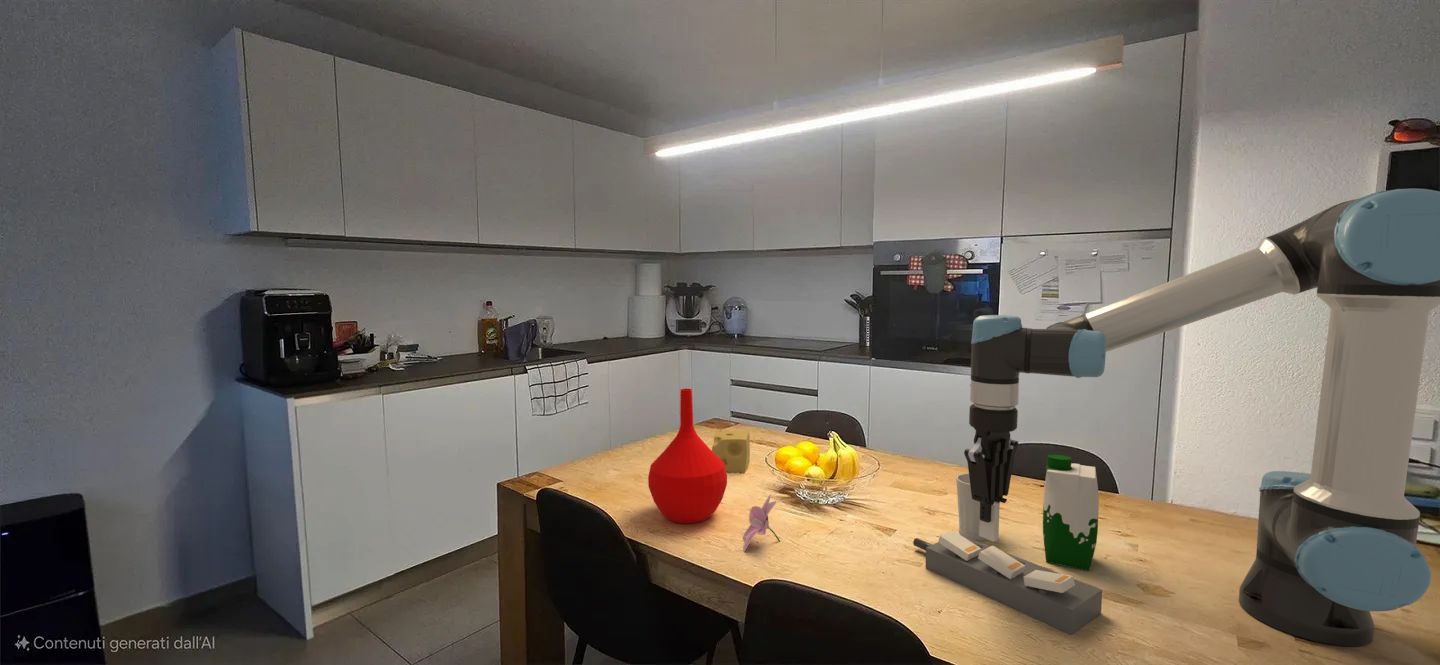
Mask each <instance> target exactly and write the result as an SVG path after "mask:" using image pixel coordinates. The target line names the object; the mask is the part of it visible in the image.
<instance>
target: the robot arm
mask: <svg viewBox="0 0 1440 665" xmlns="http://www.w3.org/2000/svg"><path fill="white" fill-rule="evenodd" d="M1313 289H1316V297H1318V299H1319V300H1321V301H1322V302H1324V304H1326V305H1327V306H1328V307H1329V309H1330V312H1329V321H1328V329H1327V338H1326V345H1325V353H1324V364H1323V371H1322V379H1321V385H1320V386H1321V387H1320V396H1319V403H1318V412H1317V419H1316V420H1317V422H1316V429H1315V436H1314V445H1313V453H1312V459H1311V460H1312V461H1311V462H1312V463H1311V469H1310V473H1307V472H1296V471H1285V470H1284V471H1283V470H1282V471H1281V470H1276V471H1274V470H1273V471H1268V472H1266V473H1264V474H1263V475H1262V478H1261V484H1260V487H1259V488H1258V491H1259V505H1258V506H1259V507H1258V508H1259V509H1258V518H1257V519H1258V523H1257V538H1256V554H1255V555H1256V556H1255V560H1254V561H1253V563H1252V565H1251V567H1250V568H1249V570H1248V572H1247V574H1246V576H1245V578H1244V579H1243V581H1242V582H1241V584H1240V586H1239V592H1238V604H1239V605H1240V606H1241V608H1242V609H1243V610H1244V611H1245V612H1247V614H1249V615H1250V616H1252V617H1253V618H1255V619H1257V620H1258V621H1260V622H1262V623H1264V624H1266V625H1267V626H1270V627H1272V628H1274V629H1277V630H1279V631H1282V632H1285V633H1287V634H1290V635H1292V636H1296V637H1300V638H1302V639H1305V640H1310V641H1314V642H1318V643H1322V644H1327V645H1328V644H1329V645H1334V646H1341V647H1342V646H1343V647H1359V646H1365V645H1369V644H1371V641H1373V640H1374V632H1375V631H1374V630H1375V624H1374V620H1373V617H1372V614H1371V612H1389V611H1395V610H1398V609H1400V608H1403V607H1406V606H1410V605H1413V604H1414V603H1416V602H1417V601H1418V600H1420V599H1421V598H1422V597H1423V596H1424V595H1426V593H1427V592H1428V590H1429V587H1430V586H1431V581H1432V572H1431V571H1432V570H1431V568H1430V565H1429V563H1428V561H1427V558H1426V557H1425V555H1424V553H1423V552H1422V550H1420V549H1419V548H1418V547H1417V540H1418V539H1417V538H1418V532H1419V524H1420V523H1419V522H1420V516H1421V511H1420V510H1419V509H1418V508H1416V506H1414V504H1412V503H1411V502H1410V501H1409V500H1408V499H1406V496H1405V490H1406V484H1407V475H1408V468H1409V462H1410V461H1409V460H1410V452H1411V446H1412V439H1413V434H1414V433H1413V431H1414V426H1415V425H1414V424H1415V417H1416V412H1417V411H1416V410H1417V402H1418V395H1419V389H1420V388H1419V387H1420V381H1421V375H1422V367H1423V366H1422V365H1423V360H1424V352H1425V347H1426V346H1425V345H1426V338H1427V331H1428V325H1429V324H1428V322H1429V315H1430V313H1431V312H1432V311H1433V310H1434V309H1436V308H1438V307H1440V191H1438V190H1433V189H1428V188H1396V189H1390V190H1380V191H1376V192H1373V193H1370V194H1368V195H1365V196H1363V197H1359V198H1355V199H1351V200H1346V201H1343V202H1340V203H1338V204H1337V203H1336V204H1335V205H1333V206H1330V207H1327V209H1324V210H1322V211H1320V212H1318V213H1316V214H1314V215H1312V216H1311V217H1309V218H1307V219H1305V220H1303V221H1301V222H1300V221H1299V223H1297V224H1294V225H1292V226H1290V227H1288V228H1286V229H1283V230H1282V231H1279V232H1276V233H1274V234H1272V235H1269V236H1266V237H1264V238H1262V239H1260V241H1259V243H1258V245H1257V247H1255V248H1253V249H1251V250H1248V251H1245V252H1244V253H1240V254H1238V255H1235V256H1232V257H1230V258H1227V259H1224V260H1222V261H1219V262H1217V263H1214V264H1211V265H1209V266H1206V267H1204V268H1201V269H1199V270H1196V271H1193V272H1191V273H1188V274H1184V275H1183V276H1180V277H1178V278H1174V279H1172V280H1170V281H1167V282H1165V283H1162V284H1159V285H1156V286H1154V287H1151V288H1149V289H1146V290H1144V291H1141V292H1138V293H1136V294H1133V295H1130V296H1127V297H1125V298H1122V299H1120V300H1117V301H1116V302H1115V301H1114V302H1112V303H1109V304H1107V305H1105V306H1104V305H1103V306H1102V307H1099V308H1096V309H1093V310H1091V311H1088V312H1086V313H1084V314H1082V315H1078V316H1075V317H1072V318H1071V319H1068V320H1064V321H1059V322H1056V323H1053V324H1050V325H1049V326H1047V327H1046V328H1032V327H1031V328H1029V327H1023V324H1022V319H1021V317H1019V316H1016V315H1004V314H1003V315H1002V314H1001V315H1000V314H987V315H985V314H984V315H979V316H978V317H975V319H974V320H973V323H972V334H971V342H970V345H971V348H970V351H971V352H970V353H971V354H970V384H969V387H970V392H969V393H970V398H969V401H970V402H971V405H970V406H969V416H968V417H969V418H968V420H969V421H968V424H969V425H970V426H971V427H972V428H973V429H974V431H975V434H974V438H973V446H972V448H970V449H969V448H965V450H964V454H963V455H964V457H965V459H966V461H967V469H968V470H967V471H968V473H969V478H970V487H971V495H972V499H973V500H976V501H979V502H980V526H979V536H980V537H983V538H986V539H988V540H987V541H991V542H996V541H998V540H999V536H1000V534H999V533H1000V511H1001V510H1000V506H1001V503H1003V504H1006V503H1007V499H1008V498H1004V496H1005V497H1007V496H1008V495H1009V492H1010V486H1011V485H1010V484H1011V479H1012V472H1013V466H1014V462H1015V461H1014V460H1015V455H1016V452H1017V449H1018V447H1019V441H1018V440H1015V439H1012V438H1011V432H1014V431H1016V430H1017V428H1018V414H1019V410H1018V409H1017V407H1016V406H1018V405H1019V393H1020V392H1019V390H1020V388H1019V384H1020V383H1019V382H1020V373H1021V374H1022V373H1023V374H1036V375H1049V376H1061V377H1075V378H1076V379H1080V378H1099V377H1101V376H1102V375H1104V372H1105V368H1106V354H1107V352H1110V351H1114V350H1115V349H1119V348H1122V347H1124V346H1128V345H1131V344H1133V343H1136V342H1139V341H1143V340H1145V339H1149V338H1152V337H1154V336H1157V335H1160V334H1163V333H1166V332H1168V331H1172V330H1175V329H1178V328H1180V327H1183V326H1186V325H1189V324H1192V323H1195V322H1198V321H1201V320H1204V319H1207V318H1210V317H1213V316H1216V315H1218V314H1222V313H1224V312H1228V311H1230V310H1233V309H1236V308H1239V307H1242V306H1245V305H1247V304H1251V303H1254V302H1256V301H1257V302H1258V301H1259V300H1262V299H1265V298H1268V297H1271V296H1274V295H1276V294H1281V293H1285V294H1290V295H1298V294H1301V293H1304V292H1306V291H1310V290H1313Z"/></svg>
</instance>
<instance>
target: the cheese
mask: <svg viewBox="0 0 1440 665" xmlns="http://www.w3.org/2000/svg"><path fill="white" fill-rule="evenodd" d="M750 437H751V436H750V431H749V430H748V431H747V430H746V431H745V430H721V429H720V430H716V432H715V433H714V436H713V444H712V447H711V451H713V452H714V453H715V454H716V455H717V456H718V457H719V458H720V459H721V460H722V461H723V462H724V464H725V468H726V473H733V472H741V473H740V474H746V473H745V472H747V470H748V467H749V464H750V459H751V458H750V453H751V447H750V446H751V444H750V443H751V441H750Z"/></svg>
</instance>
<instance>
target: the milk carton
mask: <svg viewBox="0 0 1440 665" xmlns="http://www.w3.org/2000/svg"><path fill="white" fill-rule="evenodd" d="M1046 457H1047V459H1046V464H1045V479H1044V480H1045V482H1044V491H1043V505H1042V506H1043V507H1042V509H1043V510H1042V513H1043V514H1042V537H1043V538H1042V539H1043V546H1044V555H1045V562H1046V563H1050V564H1054V565H1059V566H1064V567H1068V568H1073V569H1078V570H1081V571H1082V570H1083V571H1087V572H1090V571H1091V567H1092V566H1091V565H1092V562H1093V559H1094V556H1095V555H1094V554H1095V551H1096V547H1097V542H1098V541H1097V540H1098V533H1099V532H1098V531H1099V530H1098V529H1099V528H1098V527H1099V509H1100V508H1099V506H1100V498H1099V486H1098V485H1099V484H1098V478H1097V471H1096V466H1089V465H1082V464H1080V463H1072V457H1071V456H1069V455H1066V454H1060V453H1048V454H1047V456H1046Z"/></svg>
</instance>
